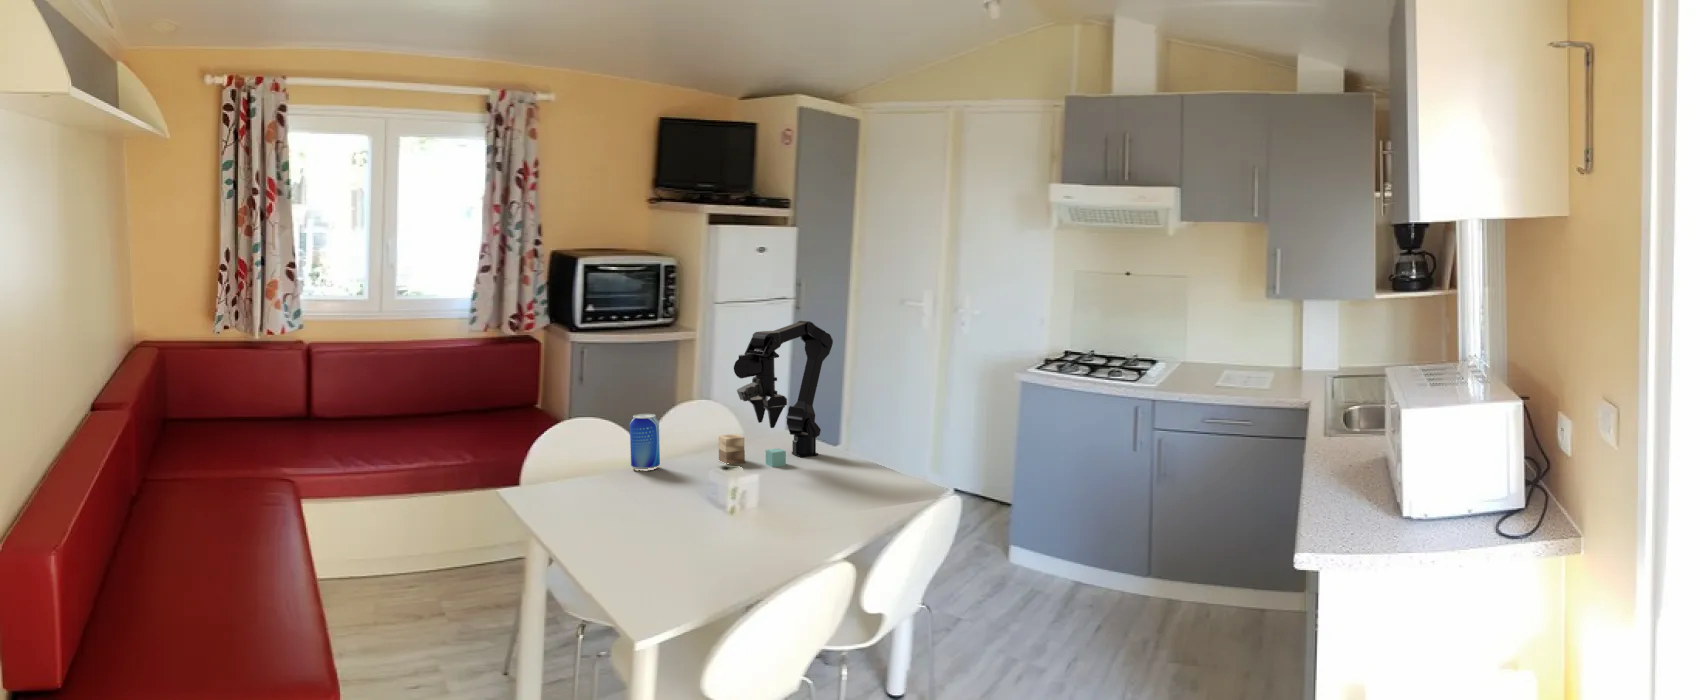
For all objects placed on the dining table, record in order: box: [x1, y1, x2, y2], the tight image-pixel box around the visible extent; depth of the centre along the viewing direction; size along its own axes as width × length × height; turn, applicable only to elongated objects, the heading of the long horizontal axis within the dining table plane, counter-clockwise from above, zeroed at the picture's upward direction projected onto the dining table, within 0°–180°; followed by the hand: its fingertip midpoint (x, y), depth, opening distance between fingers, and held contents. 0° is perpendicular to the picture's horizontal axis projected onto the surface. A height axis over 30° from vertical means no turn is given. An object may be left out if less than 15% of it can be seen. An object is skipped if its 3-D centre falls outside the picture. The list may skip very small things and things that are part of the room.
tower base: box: [718, 448, 746, 465], centre depth 313 cm, size 6×6×4 cm
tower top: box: [717, 433, 745, 452], centre depth 312 cm, size 6×6×4 cm
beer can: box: [629, 413, 661, 470], centre depth 303 cm, size 8×8×16 cm
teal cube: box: [765, 448, 787, 468], centre depth 309 cm, size 4×4×4 cm
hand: (766, 425), depth 308 cm, fingers open, 9 cm apart
